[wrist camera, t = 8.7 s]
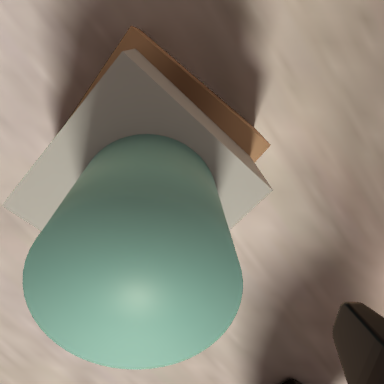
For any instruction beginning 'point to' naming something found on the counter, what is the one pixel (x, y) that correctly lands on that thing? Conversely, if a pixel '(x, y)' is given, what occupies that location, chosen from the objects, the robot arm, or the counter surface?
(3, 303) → the counter surface
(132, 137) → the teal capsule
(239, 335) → the counter surface
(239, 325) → the counter surface
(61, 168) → the light grey block
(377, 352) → the robot arm
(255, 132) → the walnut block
